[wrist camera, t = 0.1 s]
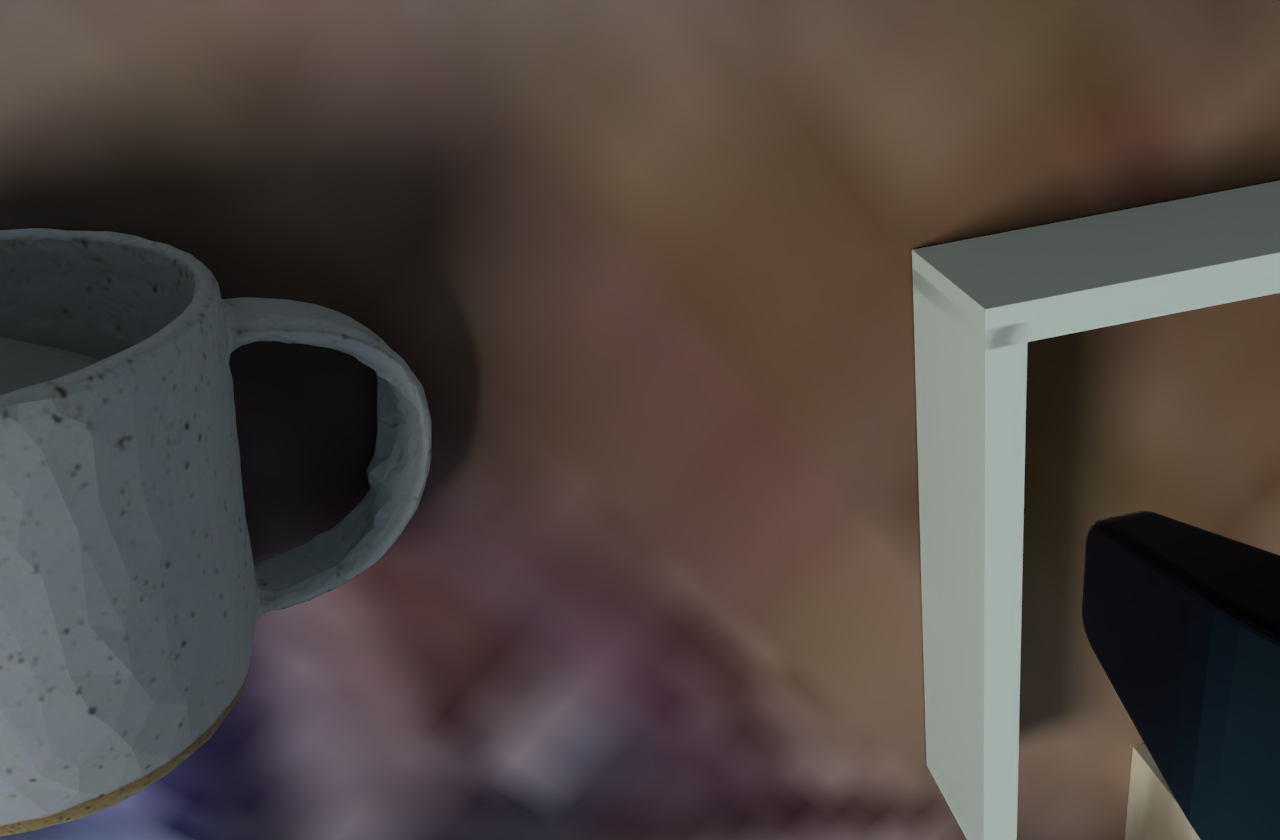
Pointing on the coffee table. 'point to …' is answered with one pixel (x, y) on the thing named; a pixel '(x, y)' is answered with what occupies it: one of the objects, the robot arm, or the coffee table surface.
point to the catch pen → (996, 428)
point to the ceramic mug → (148, 510)
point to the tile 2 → (1153, 804)
